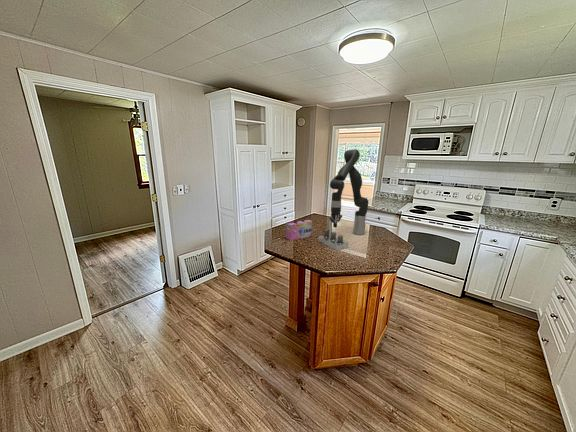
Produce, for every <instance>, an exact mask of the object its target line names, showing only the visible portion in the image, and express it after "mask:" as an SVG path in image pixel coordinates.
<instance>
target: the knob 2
mask: <svg viewBox="0 0 576 432" xmlns="http://www.w3.org/2000/svg"><path fill="white" fill-rule="evenodd" d="M337 238H338V241H337V242H338V243H343V240H344V236H343V235H342V234H338V235H337Z"/></svg>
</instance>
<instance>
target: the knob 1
mask: <svg viewBox="0 0 576 432" xmlns="http://www.w3.org/2000/svg"><path fill="white" fill-rule="evenodd" d="M329 234H330V229H328V228H325V229H324V233H323V235H324V236H325V237H329Z"/></svg>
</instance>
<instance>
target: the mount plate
mask: <svg viewBox="0 0 576 432" xmlns="http://www.w3.org/2000/svg"><path fill="white" fill-rule="evenodd" d="M317 241H318V242H319V243H321V244H323V245H325V246H327V247H329V248H331V249H333V250H335V251H339V250H344V249H348V248H349V245H350V244H349V241H347V240H344V239H343V243H338V242H337V241H338V236H336V239H335V240H332V239H331V233H329V237H325V236H324V234H323V235H318V240H317Z"/></svg>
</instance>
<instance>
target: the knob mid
mask: <svg viewBox="0 0 576 432" xmlns="http://www.w3.org/2000/svg"><path fill="white" fill-rule="evenodd" d="M330 234H331V239H332V240H335V239H336V237H337V232H335V231H331V232H330Z"/></svg>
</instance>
